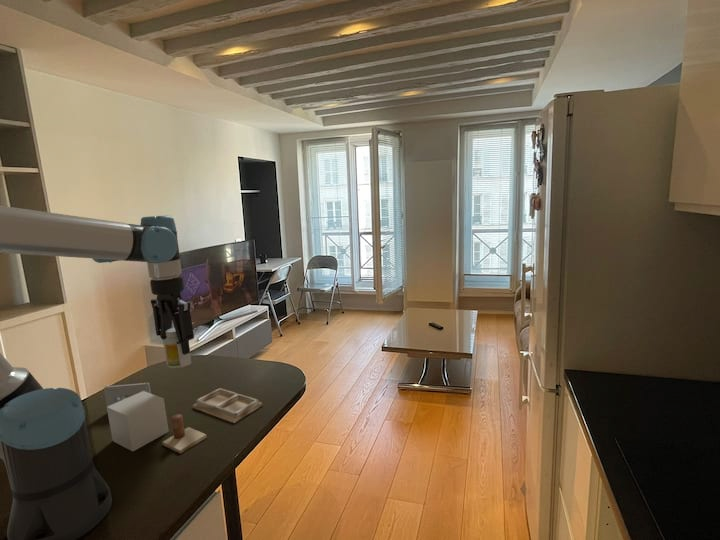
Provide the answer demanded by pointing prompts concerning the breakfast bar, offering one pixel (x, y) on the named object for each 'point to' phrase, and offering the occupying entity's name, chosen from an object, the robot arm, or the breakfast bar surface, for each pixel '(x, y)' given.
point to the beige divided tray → (227, 405)
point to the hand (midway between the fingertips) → (178, 363)
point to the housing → (137, 420)
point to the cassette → (123, 391)
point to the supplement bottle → (172, 348)
